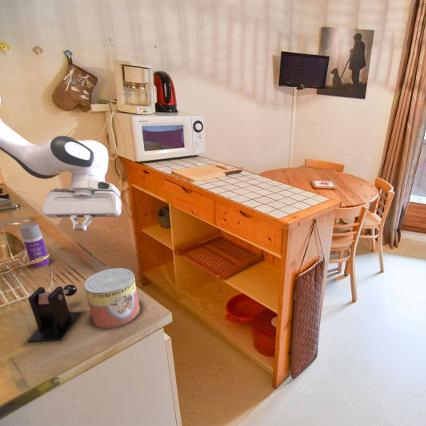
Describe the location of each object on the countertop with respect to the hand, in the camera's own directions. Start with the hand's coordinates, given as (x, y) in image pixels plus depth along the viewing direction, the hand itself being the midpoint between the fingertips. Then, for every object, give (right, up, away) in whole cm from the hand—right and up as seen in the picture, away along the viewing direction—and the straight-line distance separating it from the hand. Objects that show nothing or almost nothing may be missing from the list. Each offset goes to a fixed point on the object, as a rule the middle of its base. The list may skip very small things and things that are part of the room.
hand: (79, 230), depth 95 cm
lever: (+4, -18, -12) cm, 22 cm away
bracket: (+4, -25, -13) cm, 28 cm away
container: (-22, -13, +12) cm, 28 cm away
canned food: (+16, -24, -6) cm, 29 cm away
